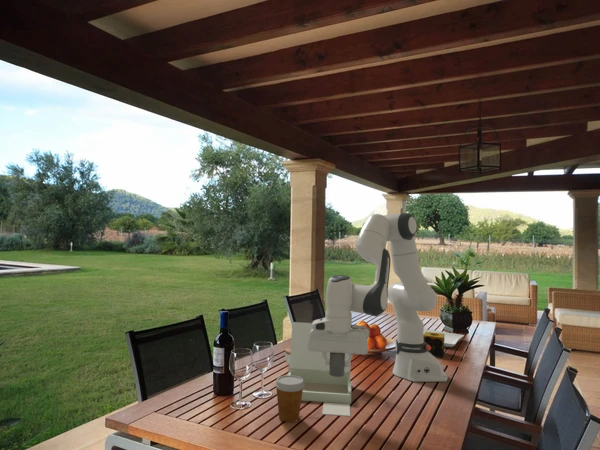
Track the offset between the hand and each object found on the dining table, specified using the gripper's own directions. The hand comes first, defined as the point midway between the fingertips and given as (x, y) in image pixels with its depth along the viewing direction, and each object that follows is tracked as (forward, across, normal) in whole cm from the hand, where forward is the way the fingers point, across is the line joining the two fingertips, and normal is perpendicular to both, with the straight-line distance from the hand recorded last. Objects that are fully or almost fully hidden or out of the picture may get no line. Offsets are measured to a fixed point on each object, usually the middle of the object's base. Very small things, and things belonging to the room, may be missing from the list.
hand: (337, 365), depth 133 cm
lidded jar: (+15, +18, -42) cm, 49 cm away
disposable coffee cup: (+15, +15, +8) cm, 23 cm away
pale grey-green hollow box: (+15, +7, -18) cm, 24 cm away
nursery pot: (+3, 0, 0) cm, 3 cm away
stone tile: (+15, 0, 0) cm, 15 cm away
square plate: (+15, -56, -105) cm, 120 cm away
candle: (+15, -49, -78) cm, 93 cm away
